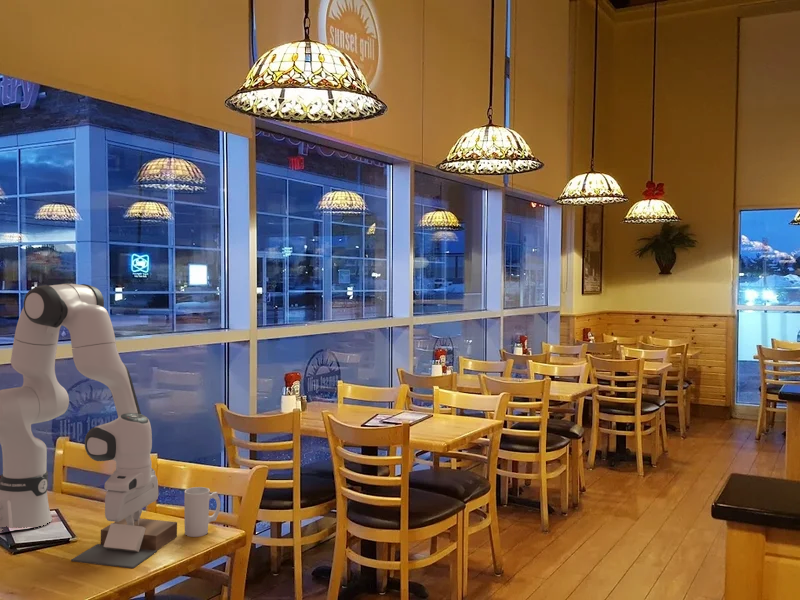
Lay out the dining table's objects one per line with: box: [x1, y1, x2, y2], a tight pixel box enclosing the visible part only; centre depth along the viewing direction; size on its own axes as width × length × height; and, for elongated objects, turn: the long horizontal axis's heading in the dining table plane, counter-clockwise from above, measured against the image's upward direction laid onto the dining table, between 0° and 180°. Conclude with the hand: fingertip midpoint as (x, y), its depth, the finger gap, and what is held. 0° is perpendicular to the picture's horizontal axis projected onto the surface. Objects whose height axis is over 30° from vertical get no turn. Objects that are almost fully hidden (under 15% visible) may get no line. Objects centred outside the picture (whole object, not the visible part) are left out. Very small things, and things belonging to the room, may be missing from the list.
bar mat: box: [70, 543, 158, 569], centre depth 187 cm, size 17×11×1 cm, turn 79°
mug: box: [183, 486, 221, 538], centre depth 206 cm, size 10×7×12 cm, turn 119°
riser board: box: [100, 517, 178, 551], centre depth 199 cm, size 16×11×4 cm
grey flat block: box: [103, 522, 146, 552], centre depth 191 cm, size 9×6×2 cm
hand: (132, 527), depth 195 cm, fingers closed
